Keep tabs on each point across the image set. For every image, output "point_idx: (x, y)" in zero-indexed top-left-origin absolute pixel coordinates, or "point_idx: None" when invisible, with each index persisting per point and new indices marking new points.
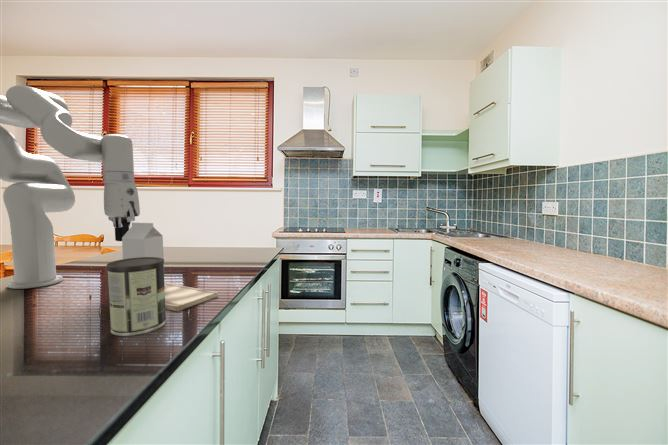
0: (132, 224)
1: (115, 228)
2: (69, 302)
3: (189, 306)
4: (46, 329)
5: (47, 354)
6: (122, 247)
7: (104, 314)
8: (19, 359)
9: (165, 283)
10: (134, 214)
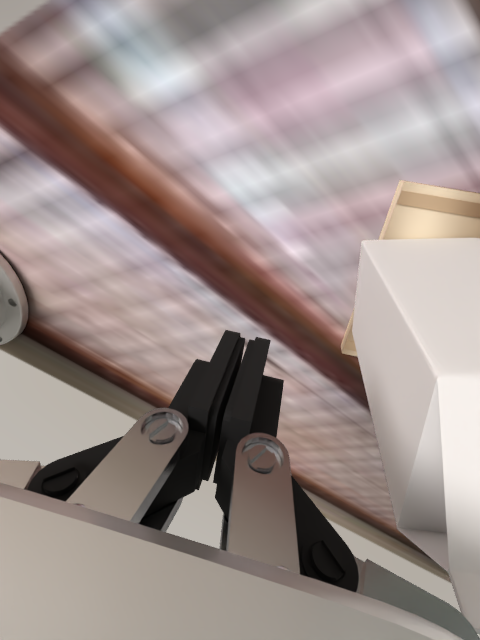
0: (469, 600)
1: (197, 482)
2: None
3: None
4: (367, 501)
5: None
6: (384, 467)
7: None
8: (435, 564)
9: (462, 204)
10: (318, 630)
